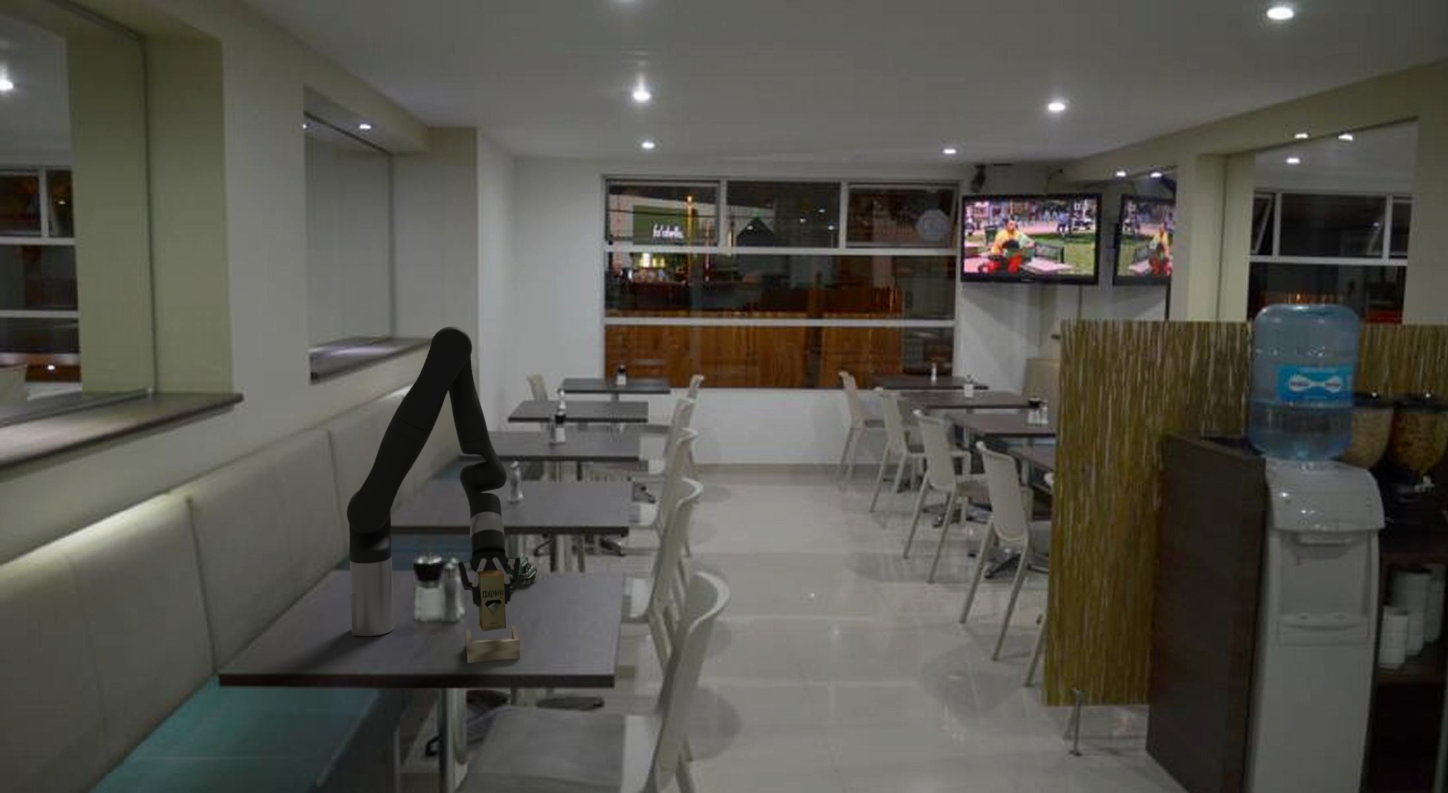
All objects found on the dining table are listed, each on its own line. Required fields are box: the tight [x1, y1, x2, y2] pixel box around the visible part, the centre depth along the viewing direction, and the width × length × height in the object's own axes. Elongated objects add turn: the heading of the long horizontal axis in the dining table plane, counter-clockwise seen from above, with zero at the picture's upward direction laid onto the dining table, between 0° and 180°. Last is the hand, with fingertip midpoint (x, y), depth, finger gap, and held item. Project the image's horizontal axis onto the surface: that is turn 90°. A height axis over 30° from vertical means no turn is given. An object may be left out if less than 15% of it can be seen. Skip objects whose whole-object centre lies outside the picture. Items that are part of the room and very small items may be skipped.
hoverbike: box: [504, 553, 538, 593], centre depth 280 cm, size 10×25×8 cm, turn 173°
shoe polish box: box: [477, 569, 507, 632], centre depth 232 cm, size 5×5×12 cm
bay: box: [465, 625, 521, 664], centre depth 233 cm, size 11×11×4 cm
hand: (492, 603), depth 230 cm, fingers closed on shoe polish box, 5 cm apart
